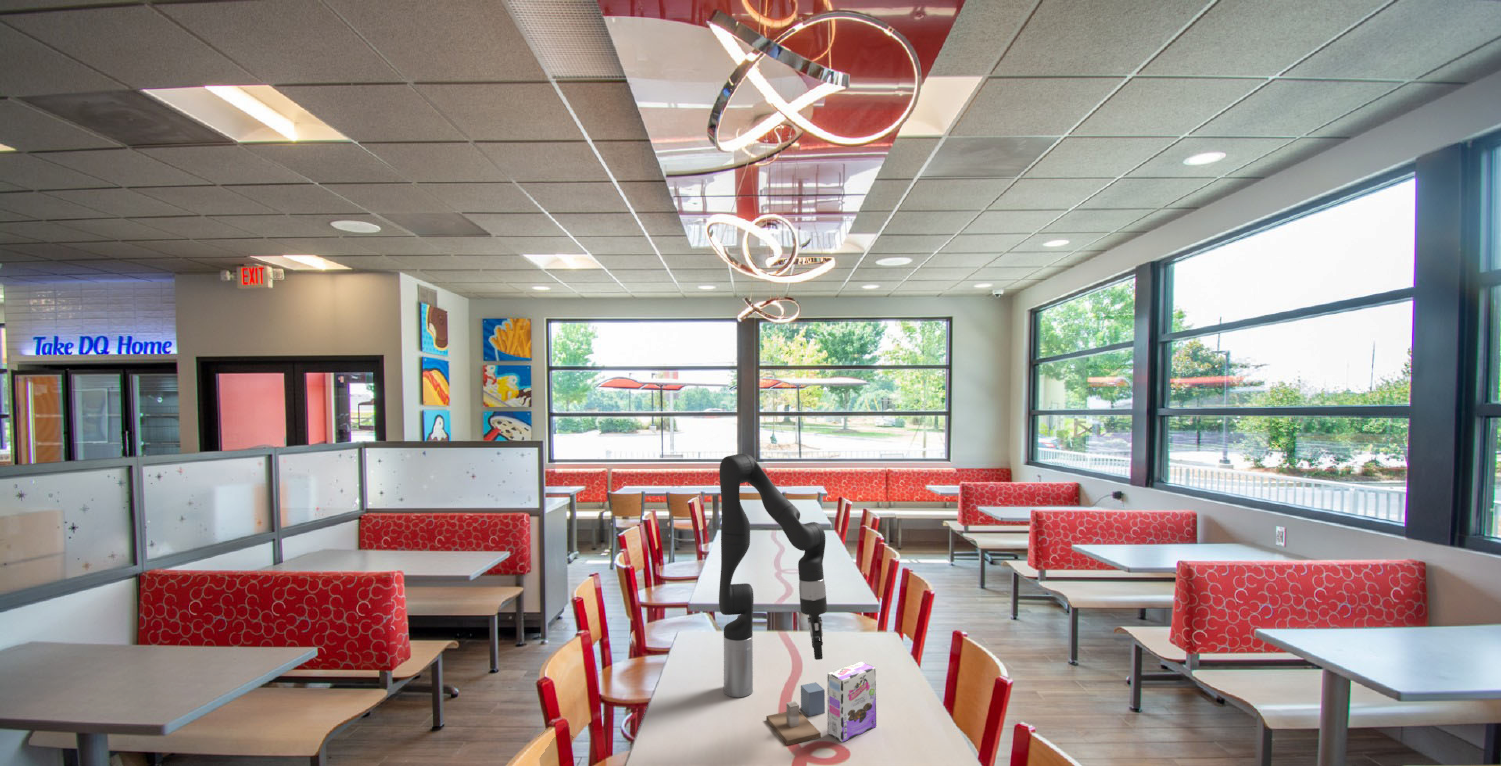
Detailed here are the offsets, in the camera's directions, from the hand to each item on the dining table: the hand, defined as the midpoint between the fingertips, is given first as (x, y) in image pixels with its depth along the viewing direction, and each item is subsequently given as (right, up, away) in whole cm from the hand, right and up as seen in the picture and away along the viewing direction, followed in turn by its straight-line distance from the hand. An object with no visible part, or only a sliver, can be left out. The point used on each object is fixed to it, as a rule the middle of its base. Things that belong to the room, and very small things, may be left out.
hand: (817, 653), depth 168 cm
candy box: (+9, -20, -3) cm, 22 cm away
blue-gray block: (0, -21, +8) cm, 22 cm away
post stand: (-7, -20, -2) cm, 21 cm away
